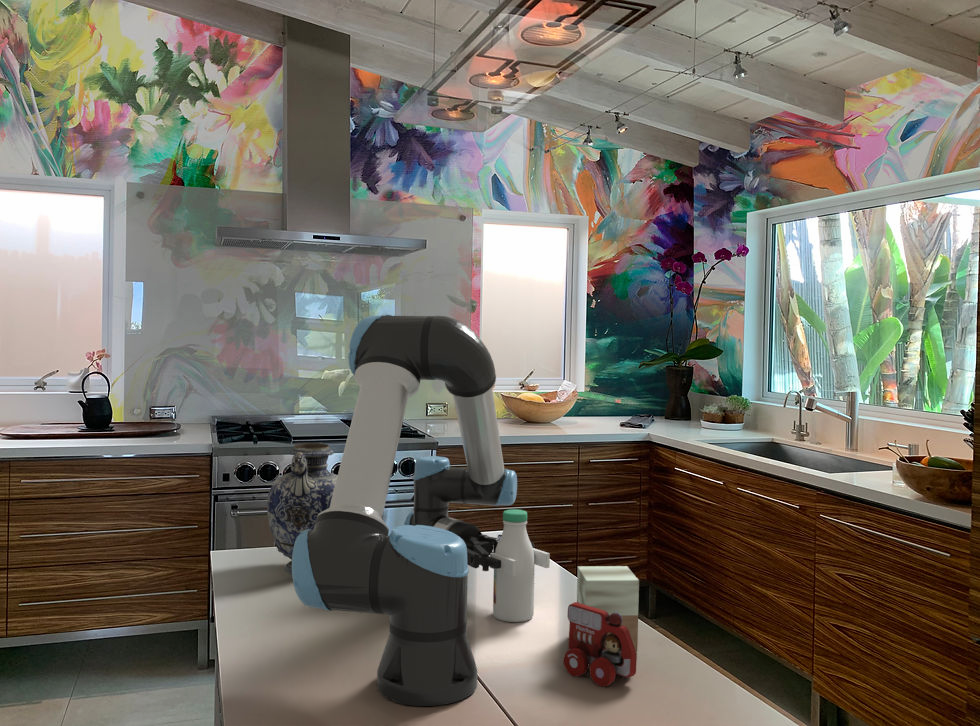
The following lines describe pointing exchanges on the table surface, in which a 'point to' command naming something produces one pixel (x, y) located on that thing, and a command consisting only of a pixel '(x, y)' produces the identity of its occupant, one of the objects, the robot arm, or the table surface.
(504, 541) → the milk bottle
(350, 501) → the robot arm
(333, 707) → the table surface
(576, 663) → the toy fire truck
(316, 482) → the decorative vase
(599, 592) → the tower stack
